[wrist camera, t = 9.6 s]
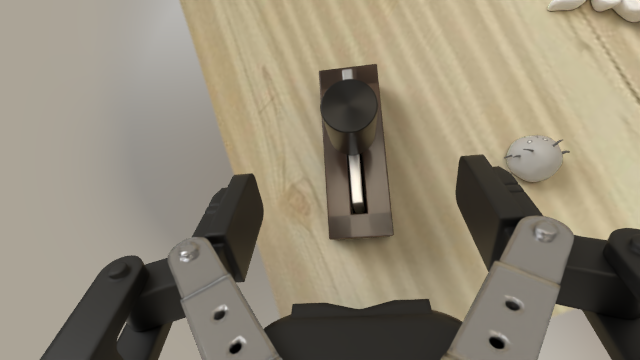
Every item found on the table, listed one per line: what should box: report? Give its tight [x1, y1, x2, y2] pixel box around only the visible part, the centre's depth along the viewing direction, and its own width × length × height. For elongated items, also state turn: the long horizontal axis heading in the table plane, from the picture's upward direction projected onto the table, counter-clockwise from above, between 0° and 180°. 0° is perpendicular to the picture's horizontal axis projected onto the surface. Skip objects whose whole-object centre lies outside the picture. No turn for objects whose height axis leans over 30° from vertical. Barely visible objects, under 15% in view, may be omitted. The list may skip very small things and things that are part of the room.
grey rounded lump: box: [505, 135, 570, 182], centre depth 22 cm, size 3×4×3 cm
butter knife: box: [320, 69, 378, 213], centre depth 20 cm, size 8×3×10 cm, turn 3°
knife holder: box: [319, 64, 394, 240], centre depth 23 cm, size 12×4×3 cm, turn 3°
